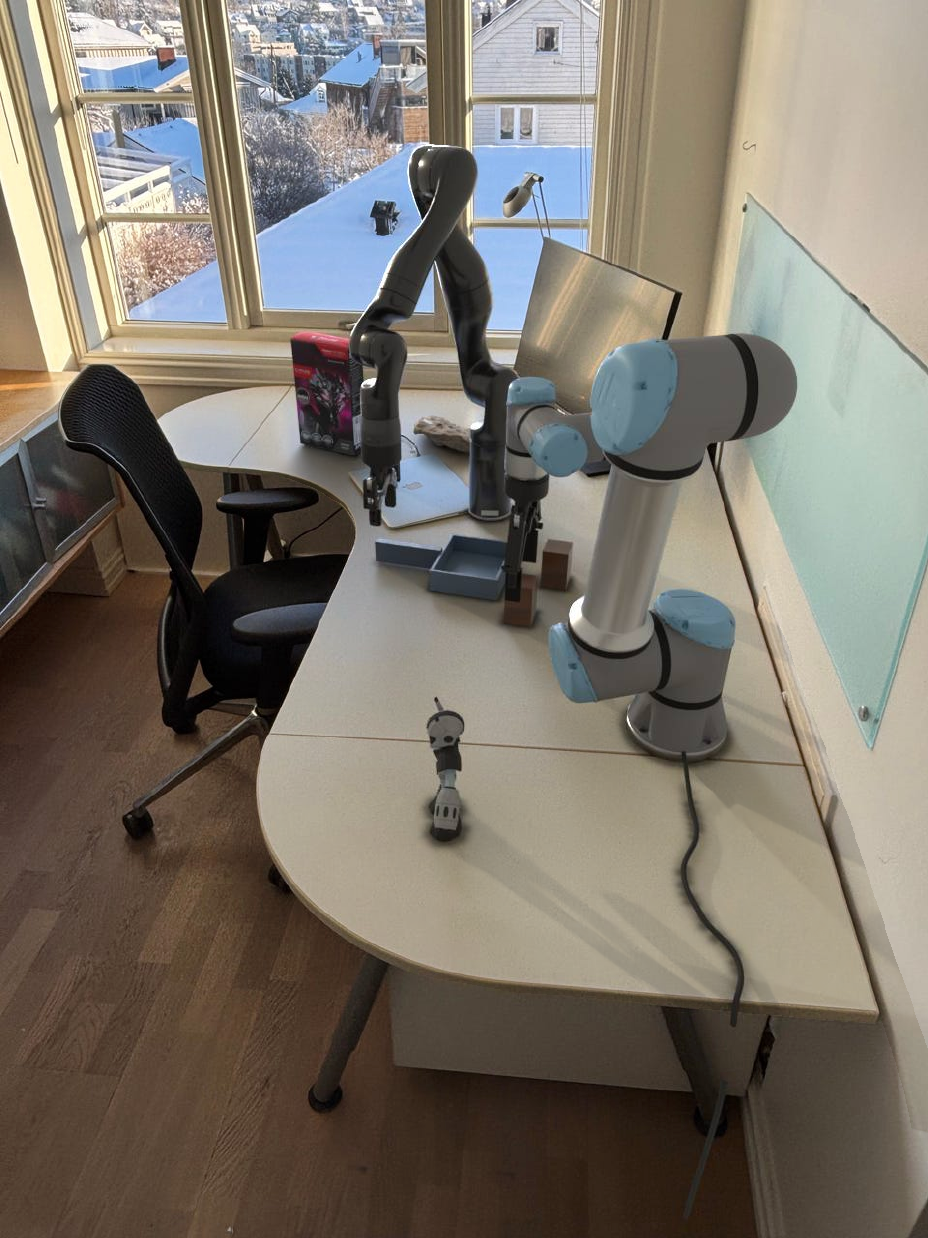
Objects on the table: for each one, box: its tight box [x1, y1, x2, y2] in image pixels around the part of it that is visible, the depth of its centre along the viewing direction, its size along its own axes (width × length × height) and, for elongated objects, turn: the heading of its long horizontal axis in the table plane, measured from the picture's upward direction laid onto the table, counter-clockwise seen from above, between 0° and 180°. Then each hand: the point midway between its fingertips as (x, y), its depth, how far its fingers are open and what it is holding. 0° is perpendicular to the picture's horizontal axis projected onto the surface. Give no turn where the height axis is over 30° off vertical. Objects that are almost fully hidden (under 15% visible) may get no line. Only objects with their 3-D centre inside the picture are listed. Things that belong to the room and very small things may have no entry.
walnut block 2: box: [539, 538, 574, 592], centre depth 177 cm, size 5×5×8 cm
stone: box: [412, 415, 470, 453], centre depth 232 cm, size 21×15×6 cm
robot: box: [425, 696, 465, 842], centre depth 121 cm, size 20×5×20 cm, turn 3°
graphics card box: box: [289, 330, 365, 456], centre depth 225 cm, size 17×7×27 cm, turn 62°
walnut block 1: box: [503, 572, 539, 628], centre depth 167 cm, size 5×5×8 cm
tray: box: [374, 533, 507, 601], centre depth 181 cm, size 15×27×5 cm, turn 75°
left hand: (383, 515), depth 179 cm, fingers open, 8 cm apart
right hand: (520, 580), depth 165 cm, fingers open, 13 cm apart
